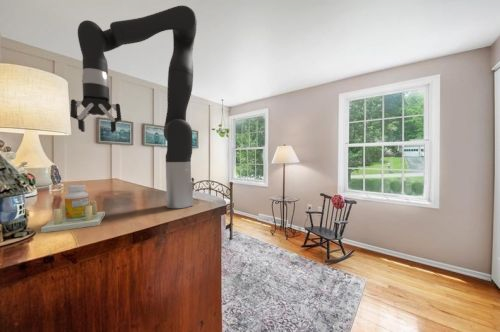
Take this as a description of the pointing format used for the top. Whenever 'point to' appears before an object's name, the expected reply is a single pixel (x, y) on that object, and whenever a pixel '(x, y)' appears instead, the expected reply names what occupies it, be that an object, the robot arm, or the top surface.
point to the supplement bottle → (76, 203)
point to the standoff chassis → (62, 224)
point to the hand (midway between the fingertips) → (98, 132)
